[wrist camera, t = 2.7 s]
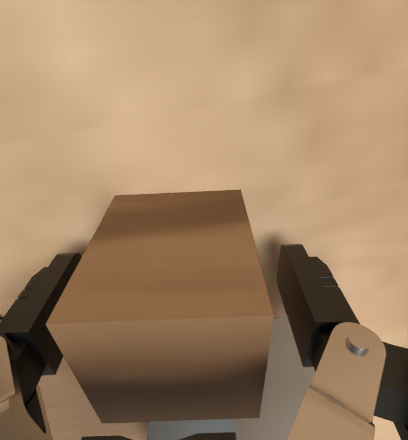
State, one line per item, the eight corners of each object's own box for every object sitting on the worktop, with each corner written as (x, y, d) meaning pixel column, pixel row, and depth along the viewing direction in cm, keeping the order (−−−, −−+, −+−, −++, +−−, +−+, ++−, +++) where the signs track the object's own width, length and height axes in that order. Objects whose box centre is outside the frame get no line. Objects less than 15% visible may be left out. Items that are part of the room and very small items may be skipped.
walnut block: (115, 195, 11) (45, 324, 6) (240, 189, 11) (273, 315, 6) (137, 283, 14) (102, 423, 9) (237, 279, 14) (259, 418, 9)
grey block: (226, 327, 16) (239, 461, 11) (316, 308, 15) (374, 444, 10) (246, 371, 18) (264, 496, 13) (323, 358, 18) (372, 485, 13)
